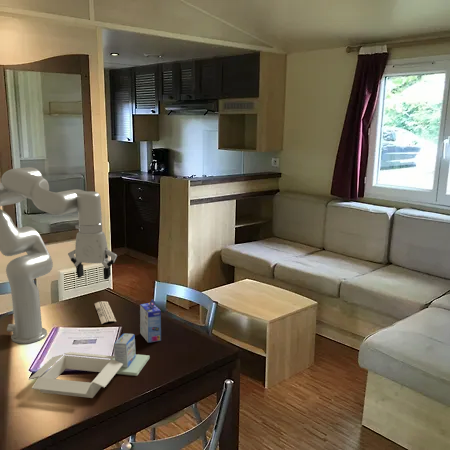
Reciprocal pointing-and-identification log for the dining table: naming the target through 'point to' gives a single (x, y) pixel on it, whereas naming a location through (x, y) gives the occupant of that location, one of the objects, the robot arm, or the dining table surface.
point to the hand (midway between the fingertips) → (93, 277)
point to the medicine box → (125, 349)
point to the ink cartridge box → (150, 322)
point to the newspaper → (104, 312)
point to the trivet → (134, 365)
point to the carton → (75, 388)
